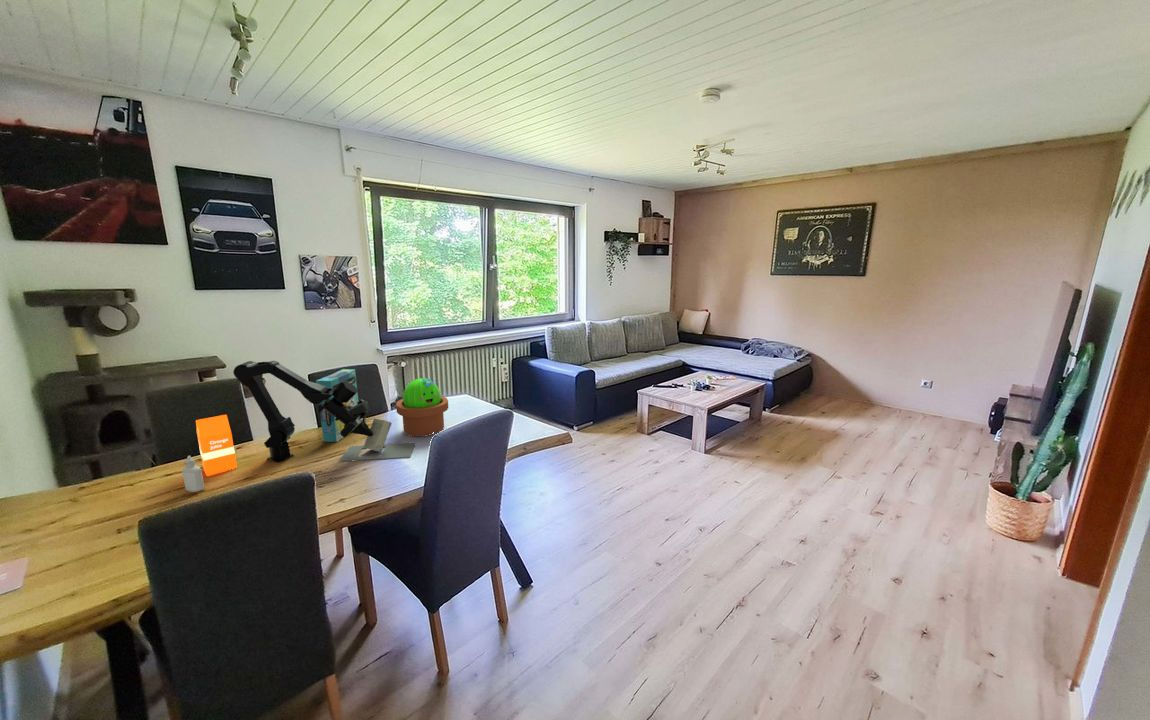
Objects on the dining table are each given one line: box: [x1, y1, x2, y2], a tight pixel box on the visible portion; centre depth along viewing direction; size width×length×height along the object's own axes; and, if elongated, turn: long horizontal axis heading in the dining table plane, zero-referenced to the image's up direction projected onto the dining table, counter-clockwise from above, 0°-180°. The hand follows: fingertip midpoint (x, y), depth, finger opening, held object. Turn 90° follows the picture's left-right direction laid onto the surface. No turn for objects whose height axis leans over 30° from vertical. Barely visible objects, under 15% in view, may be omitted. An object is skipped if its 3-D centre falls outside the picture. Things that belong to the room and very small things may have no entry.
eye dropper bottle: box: [181, 455, 205, 493], centre depth 143 cm, size 4×6×12 cm
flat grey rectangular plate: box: [338, 442, 417, 462], centre depth 175 cm, size 26×14×1 cm, turn 101°
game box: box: [315, 368, 359, 443], centre depth 190 cm, size 20×6×27 cm, turn 179°
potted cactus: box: [395, 377, 449, 437], centre depth 196 cm, size 22×22×25 cm
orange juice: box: [195, 414, 238, 477], centre depth 157 cm, size 8×9×20 cm
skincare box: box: [364, 418, 393, 452], centre depth 176 cm, size 6×4×12 cm
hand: (372, 435), depth 173 cm, fingers closed
